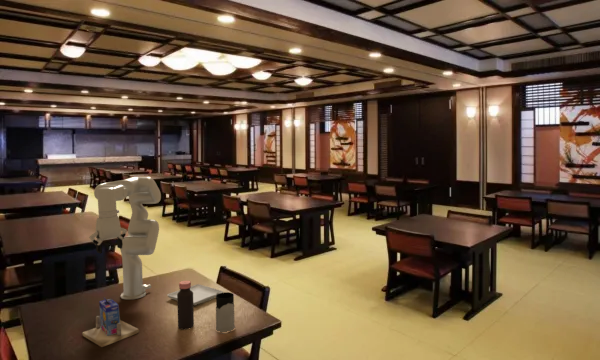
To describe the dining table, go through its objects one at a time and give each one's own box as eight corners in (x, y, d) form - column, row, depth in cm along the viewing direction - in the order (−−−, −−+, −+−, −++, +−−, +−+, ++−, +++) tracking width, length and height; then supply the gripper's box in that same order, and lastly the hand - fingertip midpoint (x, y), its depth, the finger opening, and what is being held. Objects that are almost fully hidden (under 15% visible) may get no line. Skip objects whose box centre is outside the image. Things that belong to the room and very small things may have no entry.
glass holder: (219, 335, 171) (218, 300, 170) (208, 322, 183) (207, 290, 182) (238, 330, 176) (238, 296, 174) (226, 318, 188) (225, 286, 186)
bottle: (177, 324, 181) (176, 280, 179) (192, 322, 184) (191, 279, 182) (178, 331, 175) (177, 285, 173) (195, 328, 178) (194, 283, 176)
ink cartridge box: (99, 328, 174) (98, 295, 172) (113, 325, 177) (112, 292, 176) (106, 336, 166) (105, 302, 165) (120, 332, 170) (119, 299, 169)
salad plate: (197, 288, 228) (197, 283, 227) (224, 297, 215) (224, 290, 215) (165, 300, 210) (165, 294, 210) (192, 310, 198) (192, 303, 198)
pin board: (119, 322, 183) (118, 308, 182) (138, 332, 173) (138, 317, 173) (82, 335, 170) (82, 320, 170) (101, 347, 161) (100, 331, 160)
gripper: (121, 210, 195) (123, 244, 197) (84, 216, 181) (86, 253, 183) (129, 212, 190) (131, 247, 193) (93, 218, 177) (95, 256, 179)
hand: (109, 250), depth 188 cm, fingers open, 9 cm apart
